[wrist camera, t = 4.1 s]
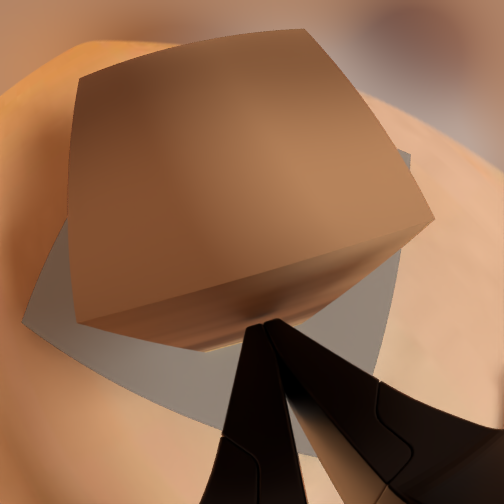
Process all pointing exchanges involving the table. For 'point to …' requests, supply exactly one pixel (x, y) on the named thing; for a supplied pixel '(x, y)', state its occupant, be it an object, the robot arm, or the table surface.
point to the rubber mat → (194, 362)
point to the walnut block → (228, 190)
